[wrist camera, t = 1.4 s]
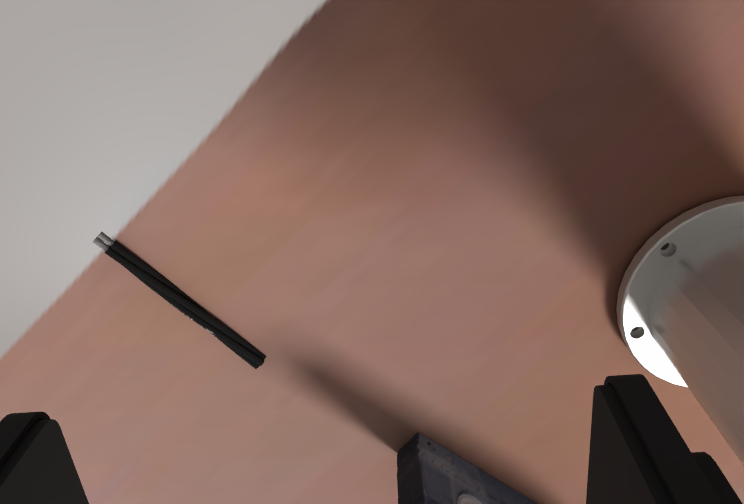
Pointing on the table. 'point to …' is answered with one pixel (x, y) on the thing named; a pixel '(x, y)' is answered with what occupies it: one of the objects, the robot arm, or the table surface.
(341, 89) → the table surface
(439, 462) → the vhs cassette tape
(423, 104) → the table surface
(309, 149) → the table surface
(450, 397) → the table surface
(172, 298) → the black pen
